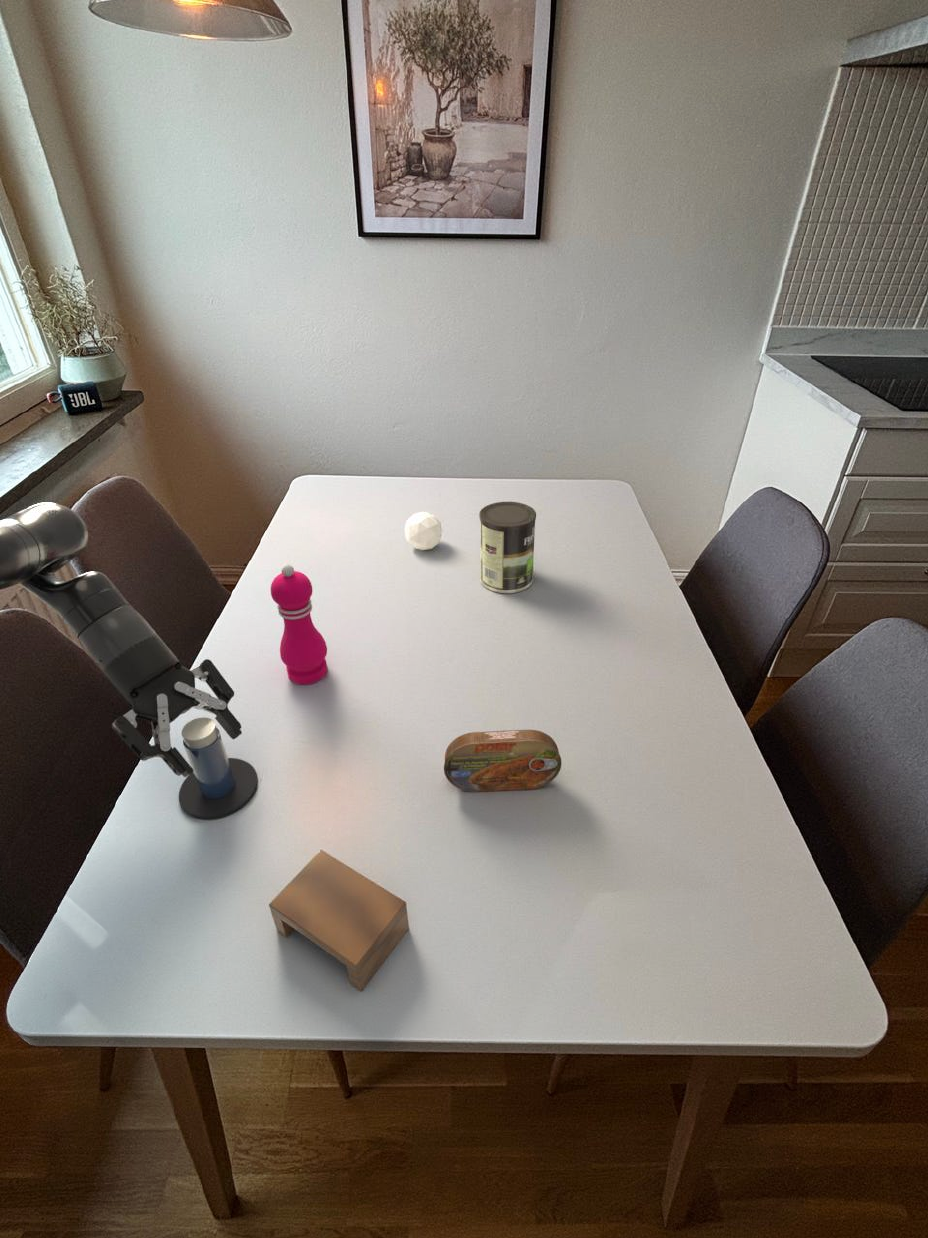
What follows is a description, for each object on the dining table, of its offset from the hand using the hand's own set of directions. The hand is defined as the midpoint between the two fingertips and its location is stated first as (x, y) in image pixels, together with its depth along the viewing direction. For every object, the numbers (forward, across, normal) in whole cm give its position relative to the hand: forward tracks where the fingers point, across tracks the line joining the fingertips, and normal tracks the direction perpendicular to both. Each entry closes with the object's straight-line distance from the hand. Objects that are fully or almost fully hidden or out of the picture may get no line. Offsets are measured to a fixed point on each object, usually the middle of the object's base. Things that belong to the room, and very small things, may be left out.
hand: (214, 754), depth 85 cm
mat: (+4, 0, +6) cm, 8 cm away
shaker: (+4, 0, +6) cm, 7 cm away
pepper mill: (-1, +24, +11) cm, 27 cm away
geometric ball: (-6, +67, +17) cm, 69 cm away
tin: (+26, +21, -15) cm, 37 cm away
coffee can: (+9, +65, +2) cm, 66 cm away
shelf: (+23, -6, -13) cm, 27 cm away
